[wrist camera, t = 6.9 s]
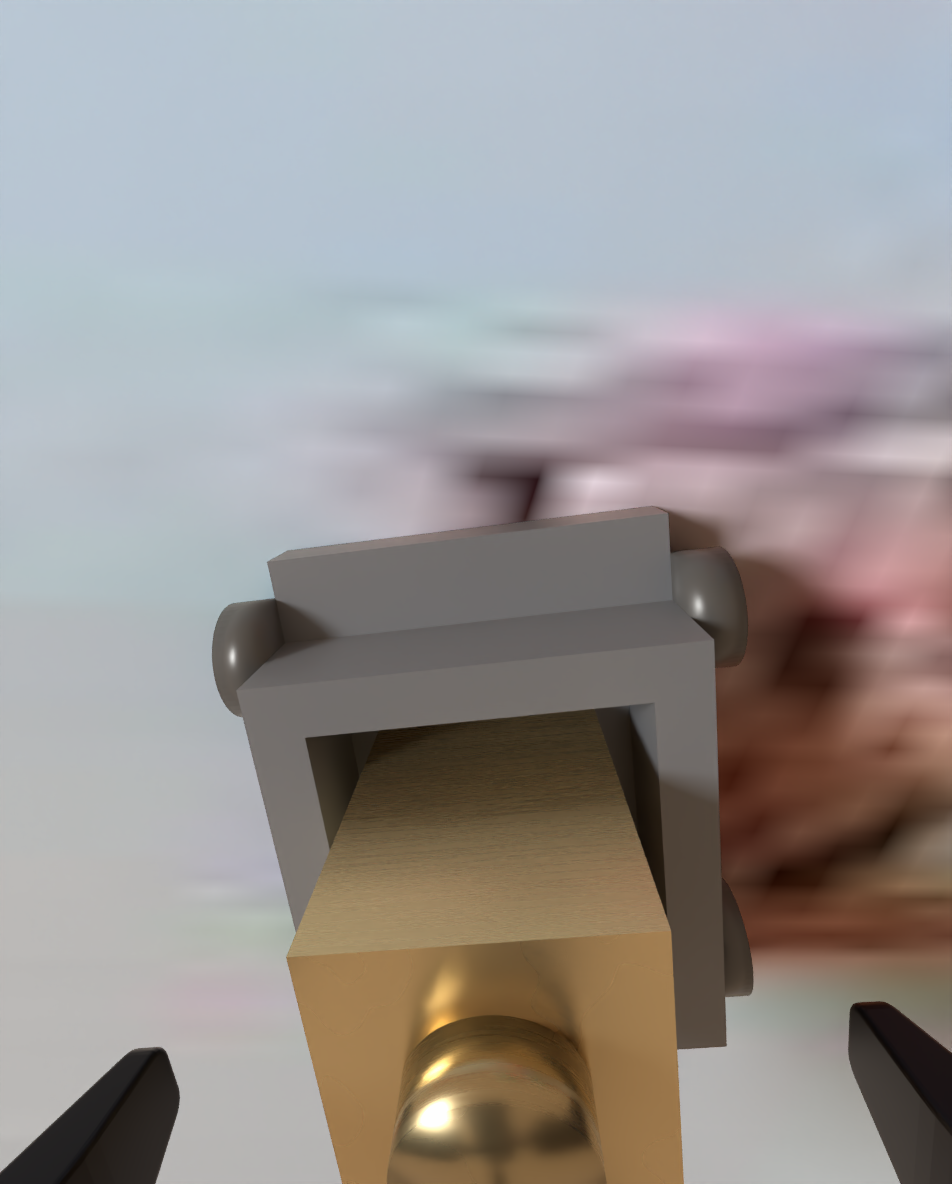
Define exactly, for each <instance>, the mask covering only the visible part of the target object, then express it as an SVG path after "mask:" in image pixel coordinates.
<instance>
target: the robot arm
mask: <svg viewBox="0 0 952 1184" xmlns="http://www.w3.org/2000/svg"><path fill="white" fill-rule="evenodd" d="M848 1052H849V1060H850V1064H851V1068H852V1071H853V1074H854V1076H855V1079H856V1081H857V1083H858V1086H859V1088H860V1090H861V1093H862V1095H863V1097H864V1100H865V1102H866V1104H867V1107H868V1109H869V1111H870V1114H871V1116H872V1118H873V1121H874V1123H875V1125H876V1128H877V1130H878V1132H879V1134H880V1137H881V1139H882V1141H883V1144H884V1146H885V1148H886V1151H887V1153H888V1155H889V1158H890V1160H891V1162H892V1165H893V1167H894V1169H895V1172H896V1174H897V1176H898V1179H899V1181H900V1183H901V1184H952V1053H951V1052H950V1051H949V1050H947V1049H946V1048H945V1047H944V1046H942V1045H941V1044H940V1043H939V1042H937V1041H936V1040H935V1039H934V1038H932V1037H931V1036H930V1035H929V1034H927V1033H926V1032H925V1031H924V1030H922V1029H921V1028H920V1027H919V1026H917V1025H916V1024H915V1023H914V1022H912V1021H911V1020H910V1019H909V1018H907V1017H906V1016H905V1015H904V1014H902V1013H901V1012H900V1011H899V1010H897V1009H896V1008H895V1007H893V1006H892V1005H890V1004H888V1003H886V1002H881V1001H877V1002H861V1003H855V1004H853V1005H852V1007H851V1009H850V1020H849V1047H848ZM179 1101H180V1095H179V1088H178V1085H177V1082H176V1079H175V1076H174V1073H173V1070H172V1067H171V1064H170V1061H169V1058H168V1055H167V1053H166V1051H165V1050H164V1049H163V1048H161V1047H151V1048H138V1049H134V1050H132V1051H130V1052H129V1053H127V1054H126V1055H125V1056H124V1057H123V1058H122V1059H121V1060H120V1061H119V1062H117V1063H116V1064H115V1065H114V1066H113V1067H112V1068H111V1069H110V1070H109V1071H108V1072H107V1073H106V1074H105V1075H104V1076H103V1077H101V1078H100V1079H99V1080H98V1081H97V1082H96V1083H95V1084H94V1085H93V1086H92V1087H91V1088H90V1089H89V1090H88V1091H87V1092H86V1093H84V1094H83V1095H82V1096H81V1097H80V1098H79V1099H78V1100H77V1101H76V1102H75V1103H74V1104H73V1105H72V1106H71V1107H70V1108H68V1109H67V1110H66V1111H65V1112H64V1113H63V1114H62V1115H61V1116H60V1117H59V1118H58V1119H57V1120H56V1121H55V1122H54V1123H53V1124H51V1125H50V1126H49V1127H48V1128H47V1129H46V1130H45V1131H44V1132H43V1133H42V1134H41V1135H40V1136H39V1137H38V1138H37V1139H35V1140H34V1141H33V1142H32V1143H31V1144H30V1145H29V1146H28V1147H27V1148H26V1149H25V1150H24V1151H23V1152H22V1153H21V1154H20V1155H18V1156H17V1157H16V1158H15V1159H14V1160H13V1161H12V1162H11V1163H10V1164H9V1165H8V1166H7V1167H6V1168H5V1169H4V1170H2V1171H1V1172H0V1184H155V1183H156V1180H157V1177H158V1174H159V1171H160V1167H161V1164H162V1161H163V1158H164V1155H165V1151H166V1148H167V1145H168V1142H169V1139H170V1136H171V1132H172V1129H173V1126H174V1123H175V1120H176V1116H177V1113H178V1108H179Z"/></svg>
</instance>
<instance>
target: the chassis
mask: <svg viewBox="0 0 952 1184" xmlns="http://www.w3.org/2000/svg"><path fill="white" fill-rule="evenodd" d="M267 563H268V568H269V572H270V577H271V582H272V586H273V591H274V595H275V598H274V599H265V600H257V601H248V602H240V603H233V604H230V605H228V606H227V607H226V608H225V609H224V610H223V611H222V613H221V614H220V616H219V618H218V621H217V624H216V627H215V631H214V636H213V644H212V662H213V671H214V677H215V681H216V685H217V688H218V691H219V694H220V696H221V698H222V700H223V702H224V704H225V705H226V707H227V708H228V709H229V710H230V711H231V712H232V713H233V714H235V715H236V716H239V717H243V720H244V724H245V728H246V732H247V736H248V740H249V744H250V748H251V752H252V757H253V761H254V765H255V769H256V773H257V777H258V781H259V785H260V789H261V793H262V797H263V801H264V805H265V809H266V813H267V817H268V821H269V825H270V829H271V833H272V837H273V841H274V845H275V850H276V854H277V858H278V862H279V866H280V870H281V874H282V878H283V882H284V886H285V890H286V894H287V898H288V902H289V906H290V910H291V914H292V918H293V922H294V926H295V930H296V932H297V930H298V927H299V925H300V922H301V920H302V918H303V915H304V913H305V910H306V908H307V905H308V903H309V900H310V898H311V895H312V893H313V891H314V888H315V886H316V883H317V881H318V878H319V876H320V873H321V871H322V869H323V866H324V864H325V861H326V859H327V856H328V854H329V851H330V849H331V846H332V844H333V842H334V839H335V837H336V834H337V832H338V829H339V827H340V824H341V822H342V819H343V817H344V815H345V812H346V810H347V807H348V805H349V802H350V800H351V797H352V795H353V793H354V790H355V788H356V785H357V783H358V780H359V778H360V775H361V773H362V770H363V768H364V766H365V763H366V761H367V758H368V756H369V753H370V751H371V748H372V746H373V743H374V741H375V739H376V736H377V734H378V731H379V730H387V729H397V728H407V727H417V726H427V725H437V724H447V723H457V722H467V721H477V720H487V719H497V718H507V717H517V716H527V715H537V714H547V713H557V712H567V711H577V710H587V709H595V712H596V715H597V718H598V721H599V724H600V727H601V730H602V732H603V735H604V738H605V741H606V744H607V747H608V750H609V753H610V756H611V758H612V761H613V764H614V767H615V770H616V773H617V776H618V779H619V782H620V784H621V787H622V790H623V793H624V796H625V799H626V802H627V805H628V807H629V810H630V813H631V816H632V819H633V822H634V825H635V828H636V831H637V833H638V836H639V839H640V842H641V845H642V848H643V851H644V854H645V857H646V859H647V862H648V865H649V868H650V871H651V874H652V877H653V880H654V883H655V885H656V888H657V891H658V894H659V897H660V900H661V903H662V906H663V909H664V911H665V914H666V917H667V920H668V923H669V926H670V929H671V937H672V957H673V978H674V998H675V1018H676V1038H677V1049H692V1048H708V1047H725V1046H727V1044H726V1012H725V997H733V996H749V995H750V994H751V993H752V990H753V967H752V959H751V953H750V948H749V943H748V939H747V935H746V931H745V927H744V923H743V920H742V917H741V914H740V911H739V908H738V905H737V903H736V900H735V898H734V896H733V894H732V891H731V890H730V888H729V886H728V884H727V883H726V881H725V880H724V879H723V878H721V847H720V815H719V782H718V749H717V716H716V683H715V668H723V667H733V666H737V665H738V664H739V663H740V662H741V661H742V659H743V656H744V654H745V650H746V645H747V636H748V616H747V606H746V599H745V594H744V589H743V585H742V582H741V578H740V575H739V572H738V570H737V567H736V565H735V563H734V561H733V559H732V557H731V556H730V554H729V553H728V552H727V551H726V550H725V549H724V548H722V547H710V548H701V549H693V550H684V551H676V552H670V538H669V518H668V513H667V512H665V511H663V510H660V509H658V508H656V507H654V506H648V507H640V508H632V509H624V510H616V511H608V512H599V513H591V514H583V515H575V516H567V517H559V518H550V519H542V520H534V521H526V522H518V523H510V524H501V525H493V526H485V527H477V528H469V529H461V530H452V531H444V532H436V533H428V534H420V535H412V536H403V537H395V538H387V539H379V540H371V541H363V542H354V543H346V544H338V545H330V546H322V547H314V548H305V549H297V550H289V551H286V552H284V553H282V554H281V555H279V556H277V557H275V558H273V559H271V560H270V561H268V562H267Z"/></svg>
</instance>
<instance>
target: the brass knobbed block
mask: <svg viewBox="0 0 952 1184" xmlns="http://www.w3.org/2000/svg"><path fill="white" fill-rule="evenodd" d="M286 958H287V962H288V966H289V970H290V974H291V978H292V982H293V986H294V990H295V994H296V998H297V1003H298V1007H299V1011H300V1015H301V1019H302V1023H303V1027H304V1031H305V1035H306V1039H307V1043H308V1047H309V1051H310V1055H311V1059H312V1063H313V1067H314V1071H315V1075H316V1079H317V1083H318V1087H319V1091H320V1095H321V1099H322V1103H323V1107H324V1111H325V1115H326V1119H327V1123H328V1127H329V1131H330V1135H331V1139H332V1144H333V1148H334V1152H335V1156H336V1160H337V1164H338V1168H339V1172H340V1176H341V1180H342V1184H684V1180H683V1160H682V1140H681V1119H680V1099H679V1079H678V1059H677V1038H676V1018H675V998H674V978H673V957H672V937H671V929H670V926H669V923H668V920H667V917H666V914H665V911H664V909H663V906H662V903H661V900H660V897H659V894H658V891H657V888H656V885H655V883H654V880H653V877H652V874H651V871H650V868H649V865H648V862H647V859H646V857H645V854H644V851H643V848H642V845H641V842H640V839H639V836H638V833H637V831H636V828H635V825H634V822H633V819H632V816H631V813H630V810H629V807H628V805H627V802H626V799H625V796H624V793H623V790H622V787H621V784H620V782H619V779H618V776H617V773H616V770H615V767H614V764H613V761H612V758H611V756H610V753H609V750H608V747H607V744H606V741H605V738H604V735H603V732H602V730H601V727H600V724H599V721H598V718H597V715H596V712H595V709H587V710H577V711H567V712H557V713H547V714H537V715H527V716H517V717H507V718H497V719H487V720H477V721H467V722H457V723H447V724H437V725H427V726H417V727H407V728H397V729H387V730H379V731H378V734H377V736H376V739H375V741H374V743H373V746H372V748H371V751H370V753H369V756H368V758H367V761H366V763H365V766H364V768H363V770H362V773H361V775H360V778H359V780H358V783H357V785H356V788H355V790H354V793H353V795H352V797H351V800H350V802H349V805H348V807H347V810H346V812H345V815H344V817H343V819H342V822H341V824H340V827H339V829H338V832H337V834H336V837H335V839H334V842H333V844H332V846H331V849H330V851H329V854H328V856H327V859H326V861H325V864H324V866H323V869H322V871H321V873H320V876H319V878H318V881H317V883H316V886H315V888H314V891H313V893H312V895H311V898H310V900H309V903H308V905H307V908H306V910H305V913H304V915H303V918H302V920H301V922H300V925H299V927H298V930H297V932H296V935H295V937H294V940H293V942H292V945H291V947H290V949H289V952H288V954H287V957H286Z"/></svg>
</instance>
